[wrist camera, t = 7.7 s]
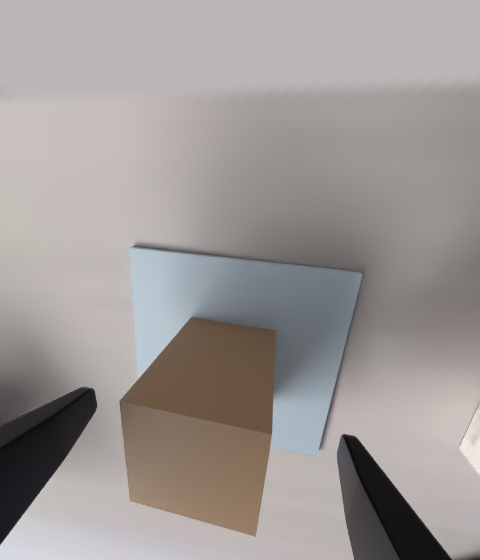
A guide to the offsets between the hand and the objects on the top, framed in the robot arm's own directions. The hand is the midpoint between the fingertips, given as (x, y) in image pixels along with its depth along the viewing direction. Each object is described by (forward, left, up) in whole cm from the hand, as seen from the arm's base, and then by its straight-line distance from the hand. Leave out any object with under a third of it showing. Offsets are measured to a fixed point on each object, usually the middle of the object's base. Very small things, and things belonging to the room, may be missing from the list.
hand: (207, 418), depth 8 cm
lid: (0, 0, -4) cm, 4 cm away
